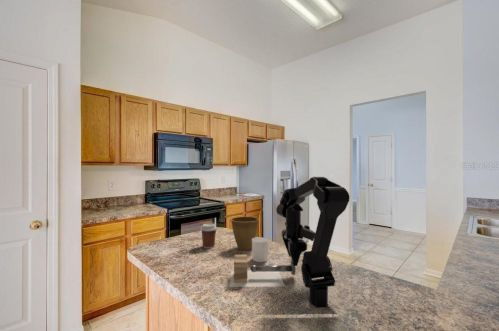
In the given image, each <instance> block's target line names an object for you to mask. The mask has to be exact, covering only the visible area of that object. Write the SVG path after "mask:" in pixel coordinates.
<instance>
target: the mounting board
mask: <svg viewBox="0 0 499 331" xmlns="http://www.w3.org/2000/svg"><path fill="white" fill-rule="evenodd" d="M285 286H286V285H285V283H284V281H283V277H282V275H281V272H252V271H251V269H247V283H234V269H231V270H230V278H229V286H228V287H229V288H248V287H249V288H255V287H256V288H257V287H259V288H262V287H263V288H270V287H271V288H272V287H274V288H276V287H278V288H279V287H280V288H281V287H283V288H285Z"/></svg>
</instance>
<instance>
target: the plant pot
mask: <svg viewBox="0 0 499 331" xmlns="http://www.w3.org/2000/svg"><path fill="white" fill-rule="evenodd" d="M230 221H231V228H232V232H233V236H234V240H235V244H236V246H237V249H238V250H241V251H250V250H252V239H253V238H256V237H257V231H258V227H259V226H258V225H259V218H257V217H256V216H254V217H253V216H236V217H232V218H231V220H230Z"/></svg>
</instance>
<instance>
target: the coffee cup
mask: <svg viewBox="0 0 499 331" xmlns="http://www.w3.org/2000/svg"><path fill="white" fill-rule="evenodd" d="M217 230H218V227H217V226H216V224H215V223H203V224H202V226H201V227H200V231H201V237H202V238H201V239H202V248H203V247H204V248H203V249H213V248H214V247H215V245H216V232H217ZM212 247H213V248H212Z"/></svg>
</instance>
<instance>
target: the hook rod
mask: <svg viewBox="0 0 499 331" xmlns="http://www.w3.org/2000/svg"><path fill="white" fill-rule="evenodd" d="M250 270H251V271H252V272H280V273H281V272H282V273H283V272H284V273H286V272H289V273H290V274H291V276H295V275H296V266H294V264H293V261H292V258H291V257H290V265H289V264H287V265H279V264H278V265H255V264H253V265H251V266H250Z"/></svg>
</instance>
